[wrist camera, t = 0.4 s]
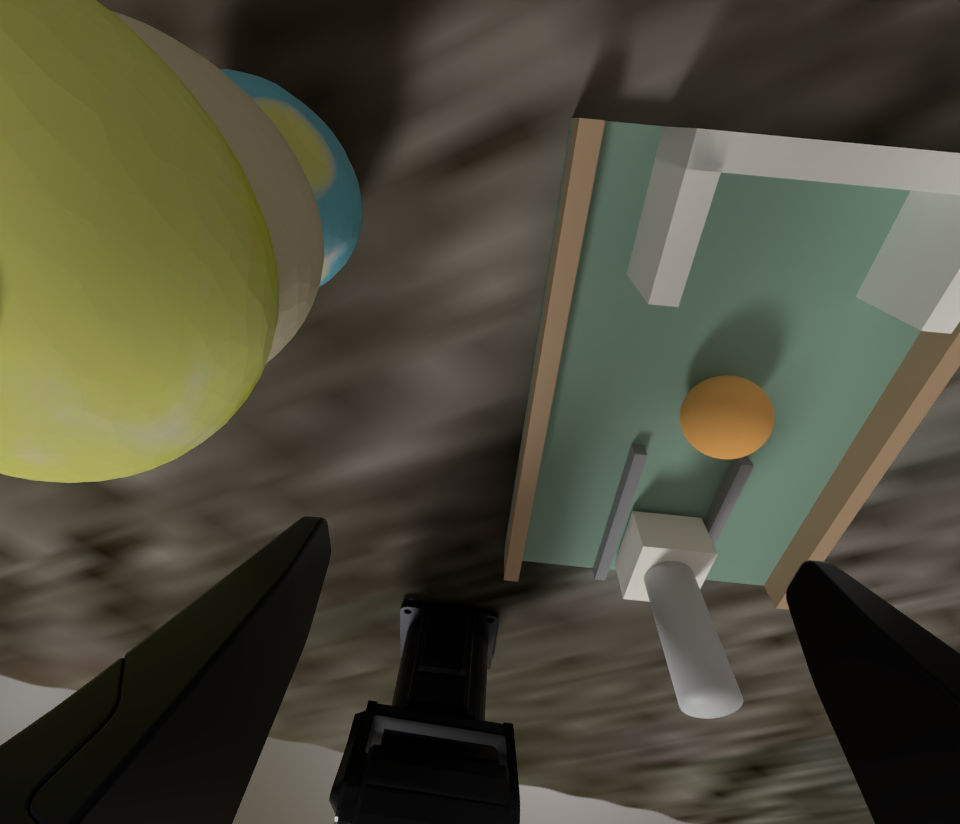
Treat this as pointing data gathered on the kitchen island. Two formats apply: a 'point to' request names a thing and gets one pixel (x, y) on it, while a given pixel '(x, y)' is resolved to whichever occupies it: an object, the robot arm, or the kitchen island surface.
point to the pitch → (714, 369)
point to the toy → (147, 239)
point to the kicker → (679, 606)
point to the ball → (727, 417)
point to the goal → (912, 238)
